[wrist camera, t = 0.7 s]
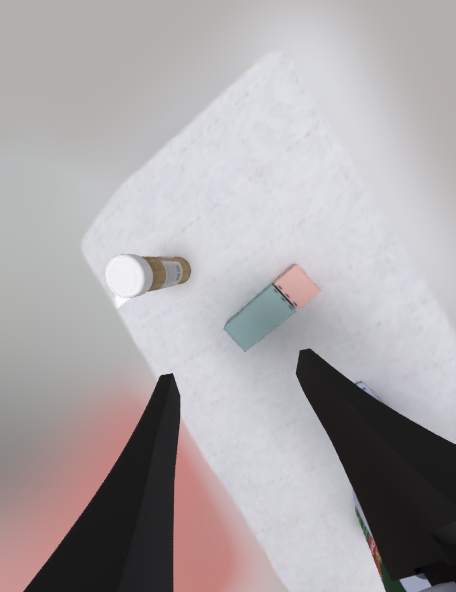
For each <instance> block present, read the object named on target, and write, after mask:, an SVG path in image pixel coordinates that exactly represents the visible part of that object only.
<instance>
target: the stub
mask: <svg viewBox="0 0 456 592" xmlns="http://www.w3.org/2000/svg"><path fill="white" fill-rule="evenodd" d="M273 283H274V284H275V285H276V286H277V287H278V289H279V290H280V291H281V292H282V293H283V294H284V295H285V296H286V297H287V298H288V299H289V300H290V302H291V303H292V304H293V305H294V306H295V307H296V308H297V309H298V310H299V309H300V308H301V307H302V306H304V305H305V304H306V303H307V302H309V301H310V300H311V299H312V298H314V297H315V296H316V295H317V294H319V293H320V292H321V290H320V289H319V288H318V287H317V286H316V285H315V283H314V282H313V281H312V280H311V279H310V278H309V277H308V276H307V275H306V274H305V273H304V271H303V270H302V269H301V268H300V267H299V266H298V265H297V264H293V265H292V266H291V267H290V268H288V269H287V270H286V271H285V272H284V273H283V274H282V275H280V276H279V277H278V278H277V279H276V280H275V281H274V282H273Z"/></svg>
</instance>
